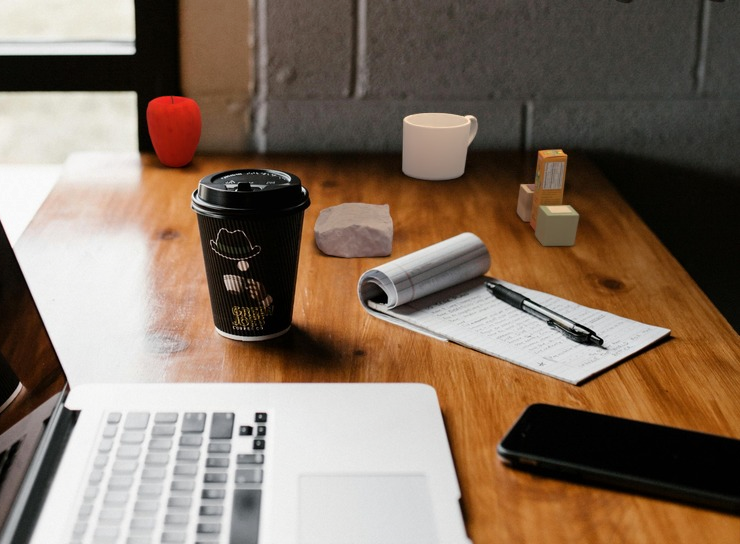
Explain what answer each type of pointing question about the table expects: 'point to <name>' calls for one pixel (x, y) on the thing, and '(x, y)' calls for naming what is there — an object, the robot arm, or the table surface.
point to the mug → (436, 145)
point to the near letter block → (556, 225)
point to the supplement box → (548, 181)
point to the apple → (174, 129)
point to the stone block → (355, 230)
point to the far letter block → (525, 201)
